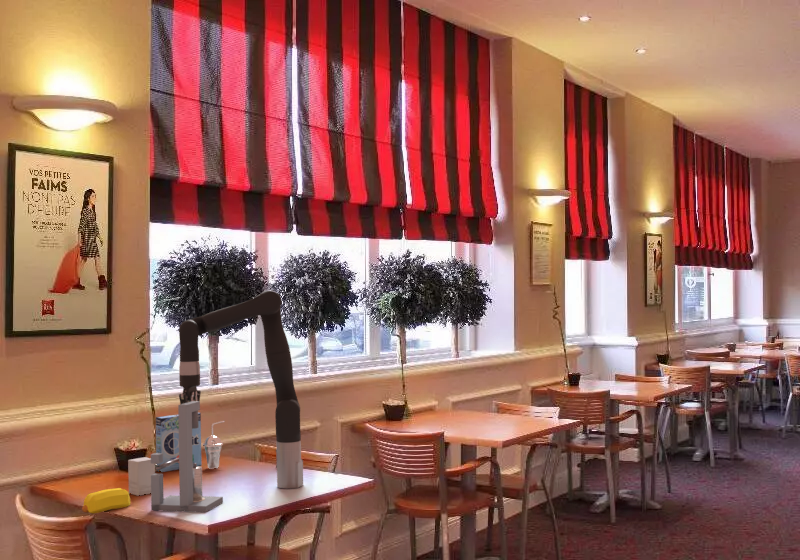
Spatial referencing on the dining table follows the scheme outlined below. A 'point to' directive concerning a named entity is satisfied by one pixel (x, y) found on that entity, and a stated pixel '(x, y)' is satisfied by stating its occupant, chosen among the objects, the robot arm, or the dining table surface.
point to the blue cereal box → (175, 440)
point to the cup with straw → (213, 449)
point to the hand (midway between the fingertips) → (190, 419)
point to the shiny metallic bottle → (197, 482)
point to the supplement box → (140, 475)
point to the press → (181, 469)
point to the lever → (167, 464)
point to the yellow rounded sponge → (106, 500)
